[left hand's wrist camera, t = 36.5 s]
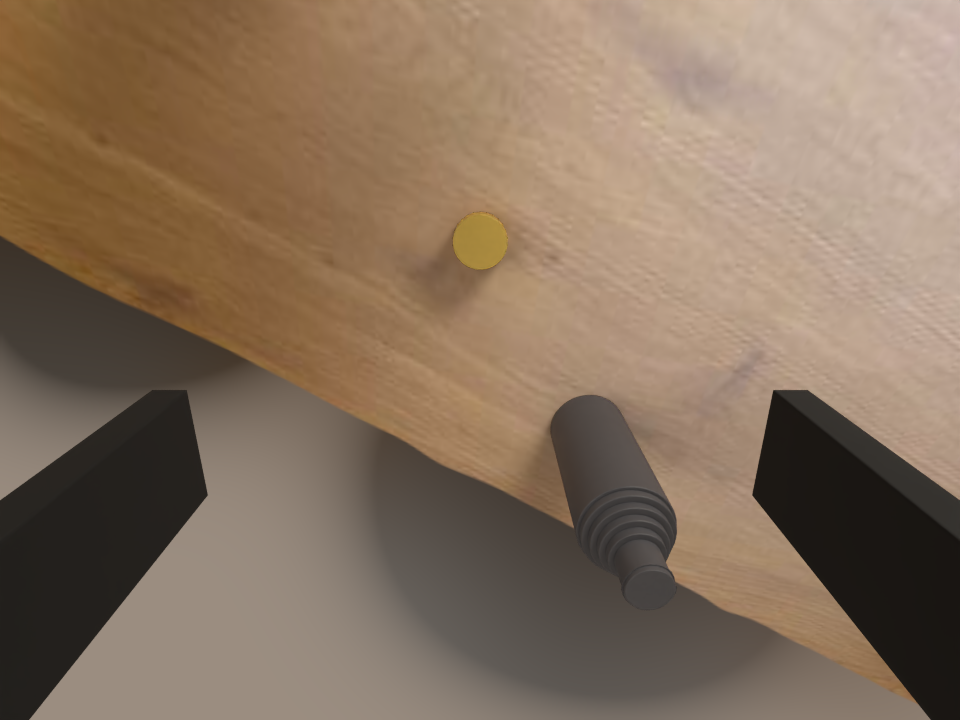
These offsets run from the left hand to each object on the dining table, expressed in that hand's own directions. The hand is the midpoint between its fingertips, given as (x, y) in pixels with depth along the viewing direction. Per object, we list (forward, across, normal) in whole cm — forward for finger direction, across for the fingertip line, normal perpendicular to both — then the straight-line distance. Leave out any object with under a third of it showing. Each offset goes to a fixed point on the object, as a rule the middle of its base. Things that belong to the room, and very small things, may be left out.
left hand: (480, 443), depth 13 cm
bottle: (+32, +9, -16) cm, 38 cm away
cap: (+31, 0, 0) cm, 31 cm away
